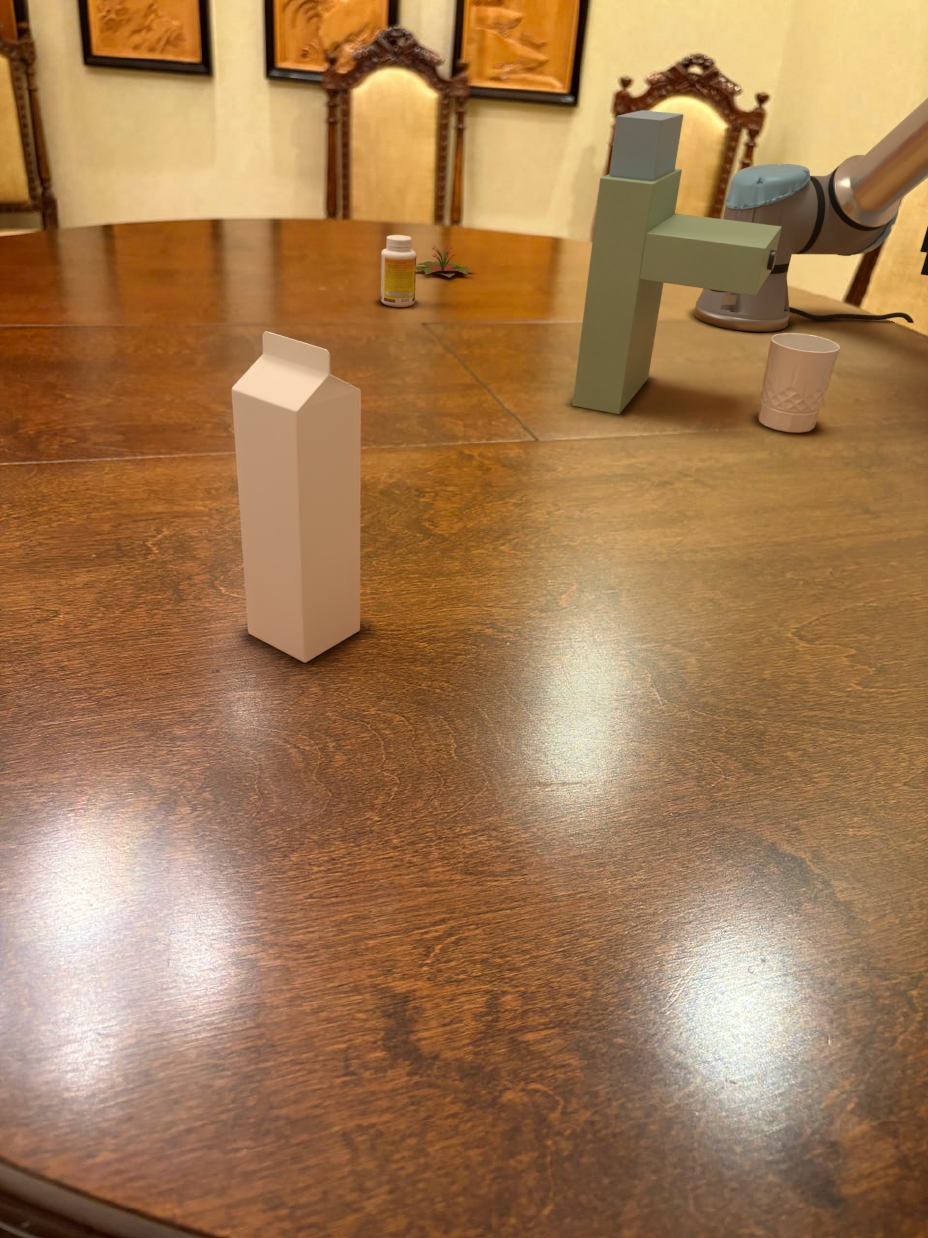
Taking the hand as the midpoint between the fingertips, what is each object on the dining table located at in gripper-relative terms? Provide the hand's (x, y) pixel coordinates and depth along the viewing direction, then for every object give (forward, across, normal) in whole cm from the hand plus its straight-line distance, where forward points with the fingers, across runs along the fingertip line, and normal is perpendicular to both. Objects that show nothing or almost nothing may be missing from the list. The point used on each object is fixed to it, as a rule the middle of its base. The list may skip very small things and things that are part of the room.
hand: (923, 248), depth 105 cm
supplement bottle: (+74, -24, +22) cm, 81 cm away
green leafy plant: (+77, -50, +22) cm, 94 cm away
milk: (+38, +68, +22) cm, 81 cm away
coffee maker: (+25, 0, +22) cm, 33 cm away
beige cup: (+10, 0, +22) cm, 24 cm away
